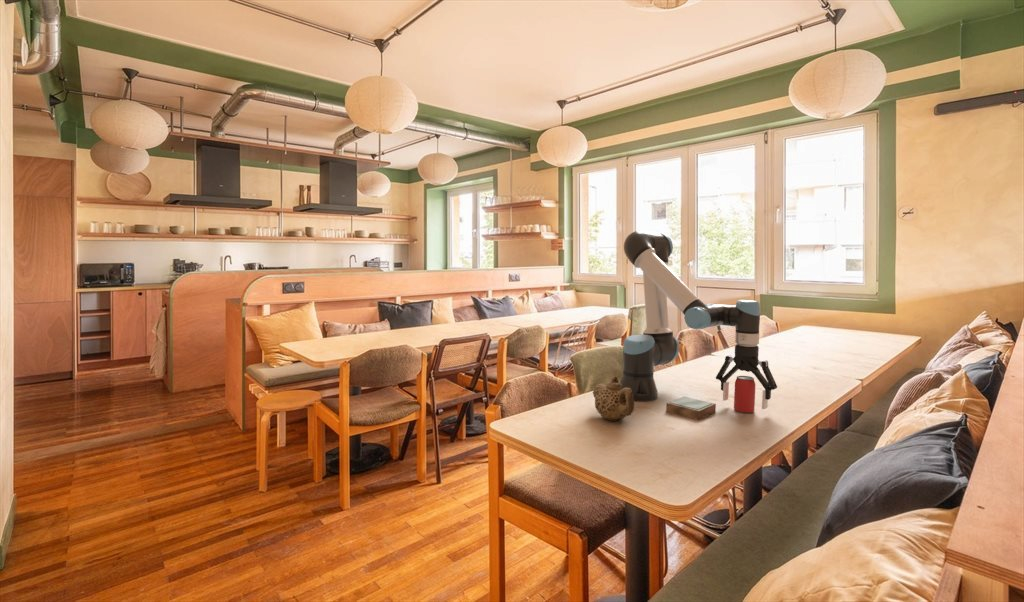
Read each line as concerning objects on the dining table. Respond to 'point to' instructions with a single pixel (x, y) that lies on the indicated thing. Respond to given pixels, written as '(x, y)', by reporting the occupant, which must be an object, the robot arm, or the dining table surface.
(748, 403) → the beer can
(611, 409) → the teapot
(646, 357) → the robot arm
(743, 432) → the dining table surface
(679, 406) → the pedestal
